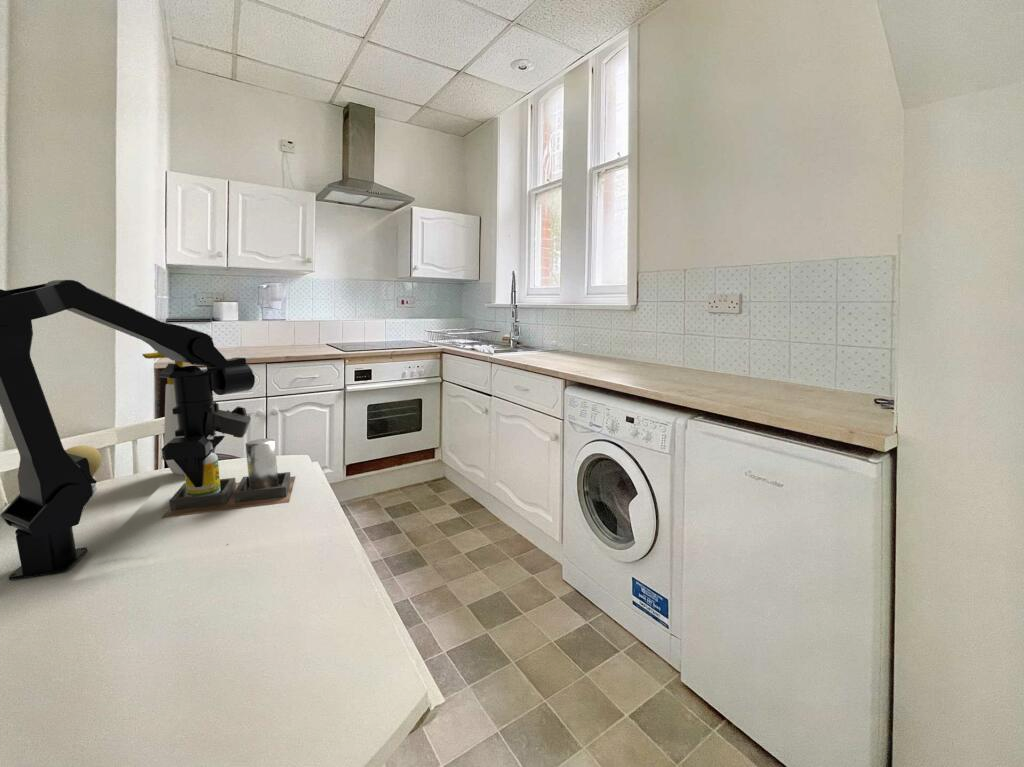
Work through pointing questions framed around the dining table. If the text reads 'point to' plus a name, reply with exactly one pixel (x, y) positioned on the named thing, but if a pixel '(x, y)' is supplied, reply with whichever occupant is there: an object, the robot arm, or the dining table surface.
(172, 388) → the soap bottle
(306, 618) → the dining table surface
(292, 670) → the dining table surface
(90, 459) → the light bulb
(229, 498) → the brown divided tray
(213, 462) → the supplement bottle
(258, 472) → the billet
